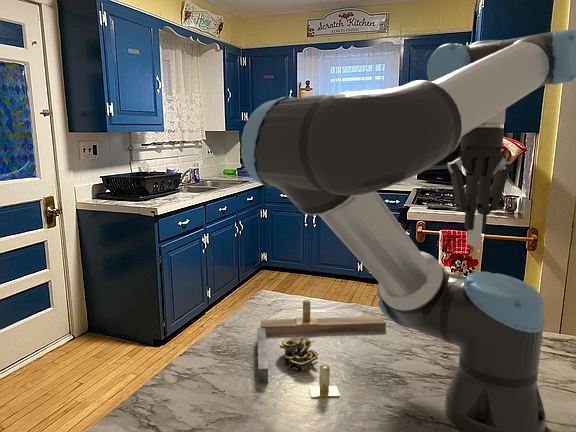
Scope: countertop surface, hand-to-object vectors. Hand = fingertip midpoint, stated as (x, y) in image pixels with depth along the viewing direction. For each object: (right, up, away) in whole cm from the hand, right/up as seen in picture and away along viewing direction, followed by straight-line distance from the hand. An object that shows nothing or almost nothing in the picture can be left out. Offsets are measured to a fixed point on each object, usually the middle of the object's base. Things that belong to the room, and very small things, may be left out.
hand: (473, 245), depth 90 cm
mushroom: (-35, -25, +3) cm, 43 cm away
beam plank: (-29, -22, +18) cm, 40 cm away
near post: (-31, -26, -9) cm, 42 cm away
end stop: (-43, -24, +3) cm, 49 cm away
